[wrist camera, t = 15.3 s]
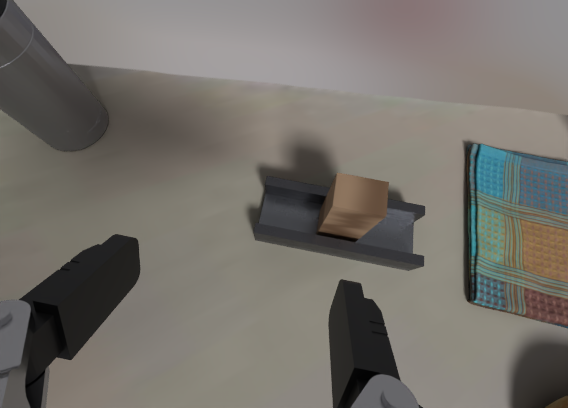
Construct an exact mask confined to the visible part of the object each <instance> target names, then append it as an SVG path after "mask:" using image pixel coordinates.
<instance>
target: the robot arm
mask: <svg viewBox="0 0 568 408" xmlns="http://www.w3.org/2000/svg"><path fill="white" fill-rule="evenodd" d="M0 109H1V110H2V111H3V112H5V113H6V114H8V115H9V116H10V117H12V118H13V119H14V120H16V121H17V122H19V123H20V124H21V125H23V126H24V127H25V128H27V129H28V130H29V131H31V132H32V133H33V134H35V135H36V136H38V137H39V138H40V139H42V140H43V141H45V142H46V143H47V144H49V145H50V146H51V147H53V148H55V149H57V150H61V151H76V150H80V149H83V148H86V147H88V146H90V145H92V144H93V143H95V142H96V141H97V140H98V139H99V138H100V137H101V136H102V135H103V133H104V132H105V130H106V128H107V125H108V114H107V112H106V110H105V108H104V107H103V106H102V105H101V104H100V103H99V101H98V100H97V99H96V98H95V97H94V95H93V94H92V93H91V92H90V91H89V89H88V88H87V87H86V86H85V84H84V83H83V82H82V81H81V80H80V79H79V77H78V76H77V75H76V74H75V73H74V72H73V70H72V69H71V68H70V67H69V66H68V64H67V63H66V62H65V61H64V60H63V59H62V57H61V56H60V55H59V54H58V53H57V51H56V50H55V49H54V48H53V47H52V46H51V44H50V43H49V42H48V41H47V40H46V38H45V37H44V36H43V35H42V34H41V33H40V32H39V30H38V29H37V28H36V27H35V26H34V24H33V23H32V22H31V21H30V20H29V19H28V18H27V16H26V15H25V14H24V13H23V11H22V10H21V9H20V8H19V7H18V6H17V4H16V3H15V2H14V1H13V0H0ZM139 275H140V258H139V244H138V240H137V239H136V238H133V237H128V236H123V235H118V234H115V235H113V236H111V237H110V238H109V239H108V240H107V241H105V242H104V243H103V244H102V245H99V244H97V245H95V246H93V247H90V248H88V249H86V250H83V251H82V252H80V253H79V254H78V255H77V256H75V257H74V258H73V259H71V261H70V262H67V263H66V264H65V265H64V266H62V267H61V269H60V270H57V271H56V272H54V273H53V274H52V275H51V276H49V277H48V278H47V279H45V280H44V281H43V282H41V283H40V284H39V285H38V286H36V287H35V288H34V289H32V290H31V291H30V292H28V293H27V294H26V295H25V296H23V297H22V298H21V299H19V300H6V301H1V302H0V408H46V402H47V392H48V382H49V372H50V371H49V365H50V364H51V362H52V361H53V360H54V359H55V358H56V357H58V358H63V359H68V360H72V359H73V357H74V356H75V355H76V354H77V353H78V351H79V350H80V349H81V348H82V347H83V346H84V344H85V343H86V342H87V341H88V340H89V338H90V337H91V336H92V335H93V334H94V333H95V331H96V330H97V329H98V328H99V327H100V325H101V324H102V323H103V322H104V321H105V320H106V318H107V317H108V316H109V315H110V314H111V312H112V311H113V310H114V309H115V308H116V307H117V305H118V304H119V303H120V302H121V301H122V299H123V298H124V297H125V296H126V295H127V294H128V292H129V291H130V290H131V289H132V288H133V286H134V285H135V284H136V282H137V280H138V278H139ZM384 325H385V323H384V320H383V316H382V312H381V310H380V309H379V308H378V306H377V305H376V303H375V302H374V301H373V300H372V299H367V298H364V295H363V290H362V286H361V284H360V283H357V282H352V281H347V280H342V279H341V280H340V281H339V284H338V287H337V290H336V293H335V296H334V299H333V302H332V305H331V309H330V314H329V342H330V360H331V378H332V397H333V408H423V407H421V406H420V405H419V404H418V403H417V400H416V398H415V397H414V395H413V393H412V392H411V391H410V390H409V388H408V387H407V386H406V385H404V384H403V383H402V382H401V380H400V377H399V374H398V370H397V366H396V363H395V359H394V356H393V352H392V348H391V345H390V341H389V338H388V337H387V335H388V334H387V330H386V327H385V326H384Z"/></svg>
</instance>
